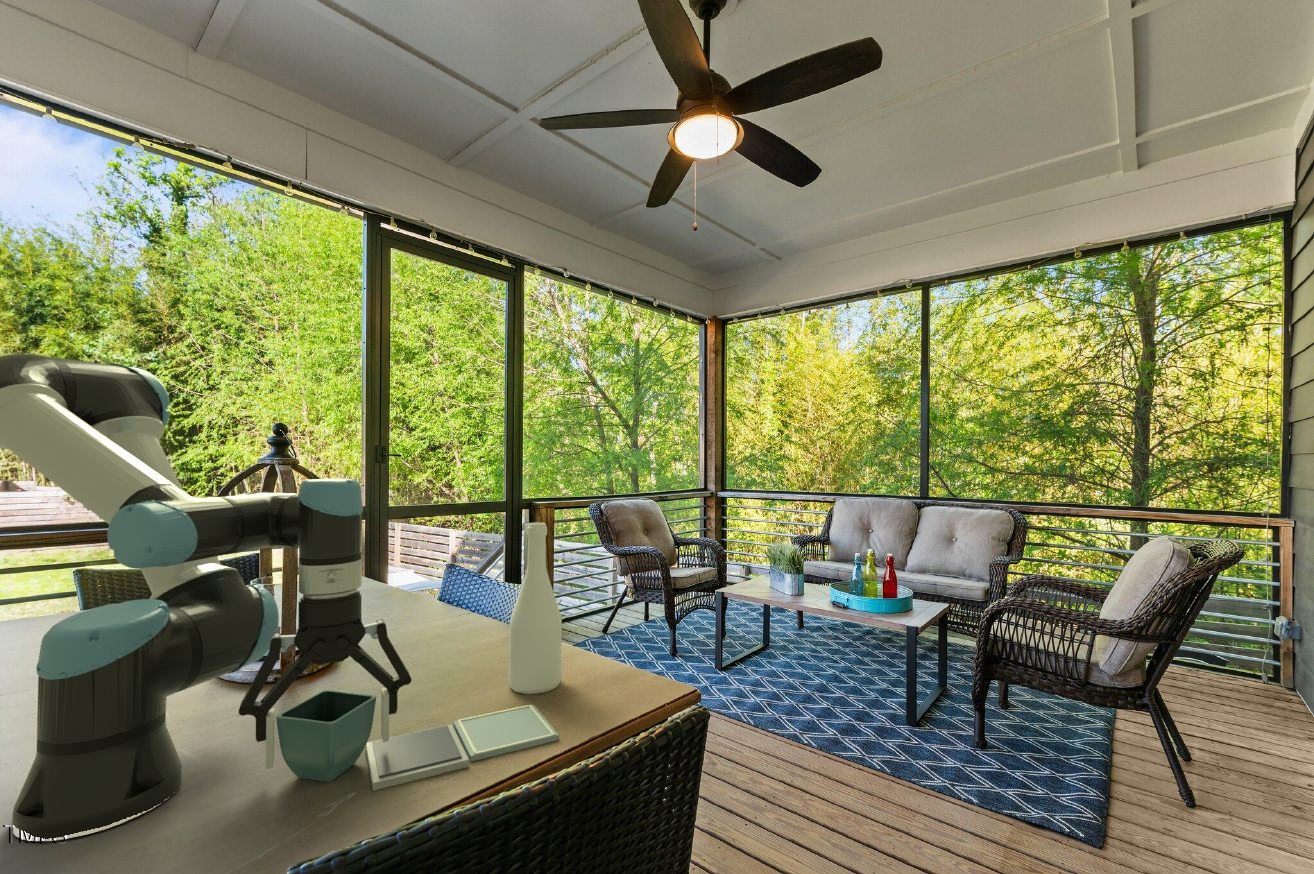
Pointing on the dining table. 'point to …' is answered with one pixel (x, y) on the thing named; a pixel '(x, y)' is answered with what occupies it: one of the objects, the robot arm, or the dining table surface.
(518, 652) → the wine bottle
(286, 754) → the flower pot
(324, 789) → the dining table surface
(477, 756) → the board
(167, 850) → the dining table surface
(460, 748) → the ink pad
